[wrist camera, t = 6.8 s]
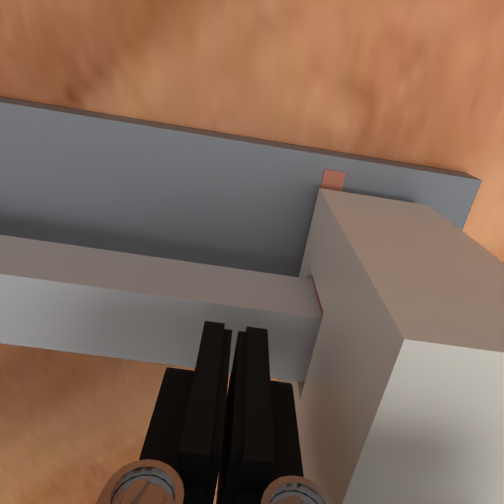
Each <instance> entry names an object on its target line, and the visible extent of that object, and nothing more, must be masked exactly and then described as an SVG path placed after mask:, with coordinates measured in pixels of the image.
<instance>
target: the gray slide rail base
mask: <svg viewBox="0 0 504 504" xmlns="http://www.w3.org/2000/svg"><path fill="white" fill-rule="evenodd" d="M481 181H482V180H480V179H478V178H476V177H474V176H472V175H469V174H467V173H463V172H457V171H451V170H445V169H439V168H433V167H426V166H420V165H414V164H408V163H402V162H396V161H390V160H384V159H377V158H371V157H365V156H359V155H353V154H347V153H341V152H335V151H329V150H322V149H316V148H310V147H304V146H298V145H292V144H286V143H280V142H273V141H267V140H261V139H255V138H249V137H243V136H237V135H231V134H224V133H218V132H212V131H206V130H200V129H194V128H188V127H182V126H175V125H169V124H163V123H157V122H151V121H145V120H139V119H133V118H126V117H120V116H114V115H108V114H102V113H96V112H90V111H84V110H77V109H71V108H65V107H59V106H53V105H47V104H41V103H35V102H28V101H22V100H16V99H10V98H4V97H0V343H2V344H10V345H18V346H26V347H34V348H42V349H50V350H57V351H65V352H73V353H81V354H89V355H97V356H105V357H112V358H120V359H128V360H136V361H144V362H152V363H159V364H167V365H175V366H183V367H191V368H195V367H196V362H197V357H198V352H199V347H200V342H201V337H202V332H203V327H204V322H205V321H211V322H219V323H225V327H224V329H230V330H232V339H231V351H230V362H229V372H230V373H231V370H232V364H233V358H234V352H235V347H236V341H237V335H238V331H245V332H246V328H247V326H249V327H256V328H264V329H267V330H268V346H269V365H270V378H277V379H285V380H293V381H301V382H305V380H306V376H307V373H308V369H309V365H310V361H311V358H312V354H313V350H314V347H315V343H316V339H317V336H318V332H319V328H320V325H321V321H322V317H323V310H322V307H321V303H320V300H319V296H318V293H317V289H316V286H315V282H314V279H313V277H312V279H306V278H299V273H300V269H301V265H302V260H303V256H304V252H305V248H306V243H307V239H308V235H309V230H310V226H311V222H312V217H313V213H314V209H315V204H316V200H317V196H318V191H319V188H323V189H329V190H335V191H342V192H348V193H354V194H361V195H367V196H373V197H380V198H386V199H392V200H399V201H405V202H412V203H418V204H424V205H429V206H430V207H432V208H433V209H434V210H435V211H437V212H438V213H439V214H441V215H442V216H443V217H445V218H446V219H447V220H448V221H450V222H451V223H452V224H454V225H455V226H456V227H458V228H459V229H460V230H462V229H463V226H464V224H465V221H466V219H467V216H468V214H469V211H470V209H471V206H472V204H473V201H474V199H475V196H476V194H477V191H478V189H479V186H480V184H481Z"/></svg>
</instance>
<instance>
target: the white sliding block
mask: <svg viewBox="0 0 504 504" xmlns="http://www.w3.org/2000/svg"><path fill="white" fill-rule="evenodd" d="M312 277H313V279H314V282H315V286H316V289H317V293H318V296H319V300H320V303H321V307H322V310H323V317H322V321H321V325H320V328H319V332H318V336H317V339H316V343H315V347H314V350H313V354H312V358H311V361H310V365H309V369H308V373H307V376H306V380H305V382H301V381H293V380H285V379H279V382H286V383H291V384H292V387H293V393H294V401H295V409H296V418H297V426H298V434H299V442H300V450H301V458H302V467H303V475H304V478H306V479H308V480H311V481H313V482H314V483H316V484H317V485H318V486H320V487H321V488H323V490H324V491H325V492H326V493H327V494H328V496H329V497H330V498H331V500H332V502H333V504H504V263H503V262H502V261H501V260H499V259H498V258H497V257H496V256H494V255H493V254H492V253H490V252H489V251H488V250H486V249H485V248H484V247H482V246H481V245H480V244H479V243H477V242H476V241H475V240H473V239H472V238H471V237H469V236H468V235H467V234H465V233H464V232H463V231H462V230H460V229H459V228H458V227H456V226H455V225H454V224H452V223H451V222H450V221H448V220H447V219H446V218H445V217H443V216H442V215H441V214H439V213H438V212H437V211H435V210H434V209H433V208H432V207H430V206H429V205H424V204H418V203H412V202H405V201H399V200H392V199H386V198H380V197H373V196H367V195H361V194H354V193H348V192H342V191H335V190H329V189H323V188H319V191H318V196H317V200H316V204H315V209H314V213H313V217H312V222H311V226H310V230H309V235H308V239H307V243H306V248H305V252H304V256H303V260H302V265H301V269H300V273H299V278H306V279H312Z"/></svg>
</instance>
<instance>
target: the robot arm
mask: <svg viewBox="0 0 504 504" xmlns="http://www.w3.org/2000/svg"><path fill="white" fill-rule="evenodd" d="M224 327H225V323H219V322H211V321H205V322H204V327H203V332H202V337H201V342H200V347H199V352H198V357H197V362H196V367H195V371H191V370H183V369H175V368H168V367H167V369H166V371H165V374H164V377H163V381H162V384H161V388H160V391H159V394H158V398H157V401H156V405H155V408H154V411H153V415H152V418H151V421H150V425H149V428H148V432H147V435H146V438H145V442H144V445H143V449H142V452H141V455H140V459H139V461H134V462H132V463H130V464H127V465H125V466H123V467H122V468H120V469H119V470H118V471H117V472H115V473H114V474H113V475H112V477H111V478H110V479H109V481H108V482H107V483H106V485H105V487H104V489H103V490H102V492H101V494H100V496H99V498H98V500H97V502H96V504H213V501H214V495H215V490H216V484H217V478H218V488H217V500H216V504H333V502H332V500H331V498H330V497H329V496H328V494H327V493H326V492H325V491H324V490H323V488H321V487H320V486H318V485H317V484H316V483H314V482H313V481H311V480H308V479H306V478H304V475H303V467H302V458H301V450H300V442H299V434H298V426H297V418H296V409H295V401H294V393H293V387H292V384H291V383H286V382H278V381H270V365H269V346H268V330H267V329H264V328H256V327H249V326H247V328H246V332H245V331H238V335H237V341H236V347H235V352H234V358H233V364H232V370H231V376H230V382H229V387H228V393H227V386H228V374H229V362H230V351H231V339H232V330H230V329H224ZM226 398H227V399H226ZM218 473H219V477H218Z"/></svg>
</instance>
